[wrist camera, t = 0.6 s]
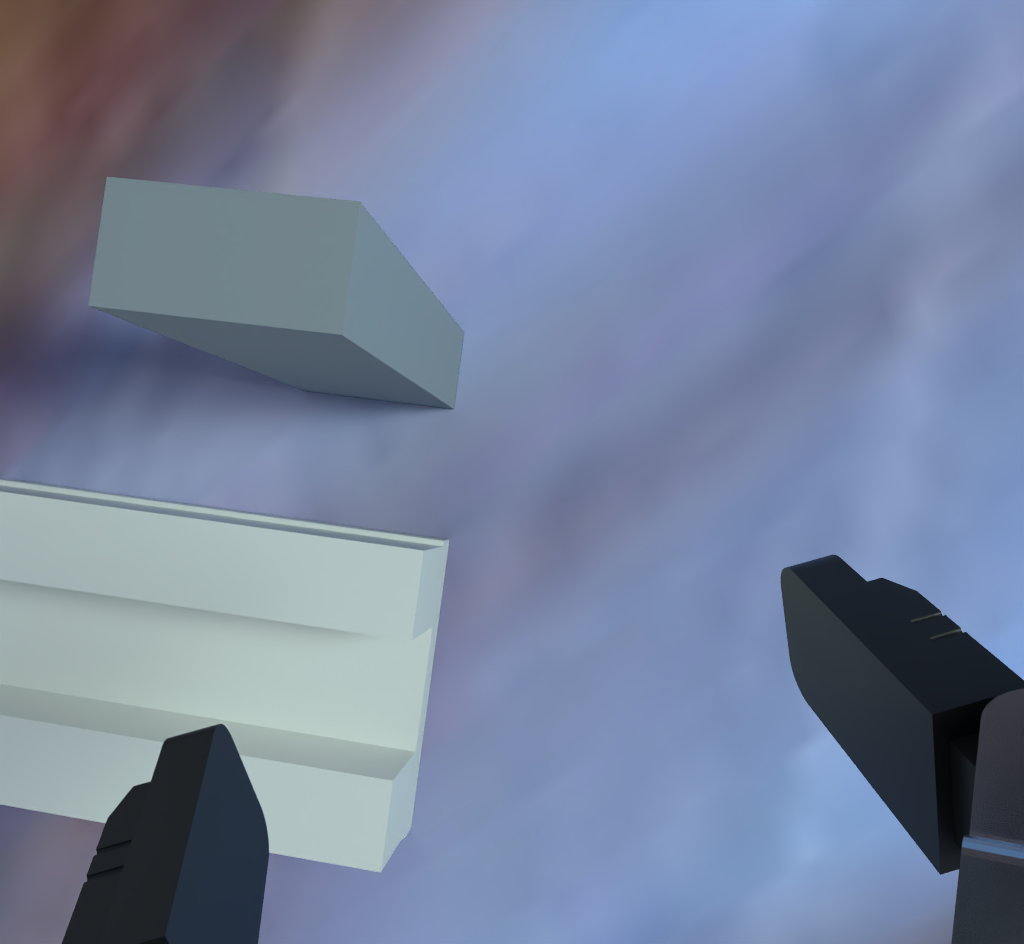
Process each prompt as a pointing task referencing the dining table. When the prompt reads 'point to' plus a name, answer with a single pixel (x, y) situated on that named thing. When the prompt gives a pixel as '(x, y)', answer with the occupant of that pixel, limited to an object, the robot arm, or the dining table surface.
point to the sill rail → (216, 659)
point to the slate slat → (276, 289)
